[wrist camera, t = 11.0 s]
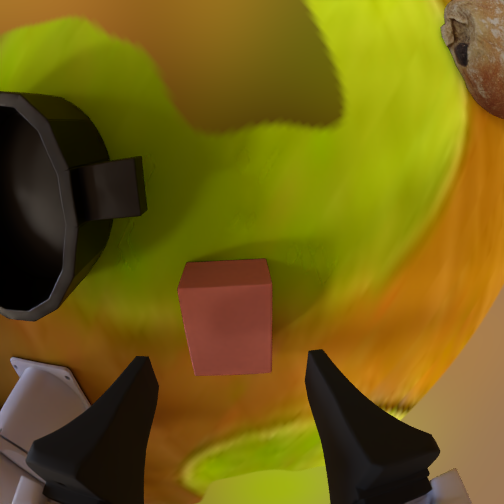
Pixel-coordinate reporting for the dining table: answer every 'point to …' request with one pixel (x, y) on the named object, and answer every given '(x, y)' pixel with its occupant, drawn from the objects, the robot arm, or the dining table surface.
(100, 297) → the dining table surface
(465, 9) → the bread roll
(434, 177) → the dining table surface
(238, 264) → the reddish pink block
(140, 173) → the pan
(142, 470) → the robot arm
